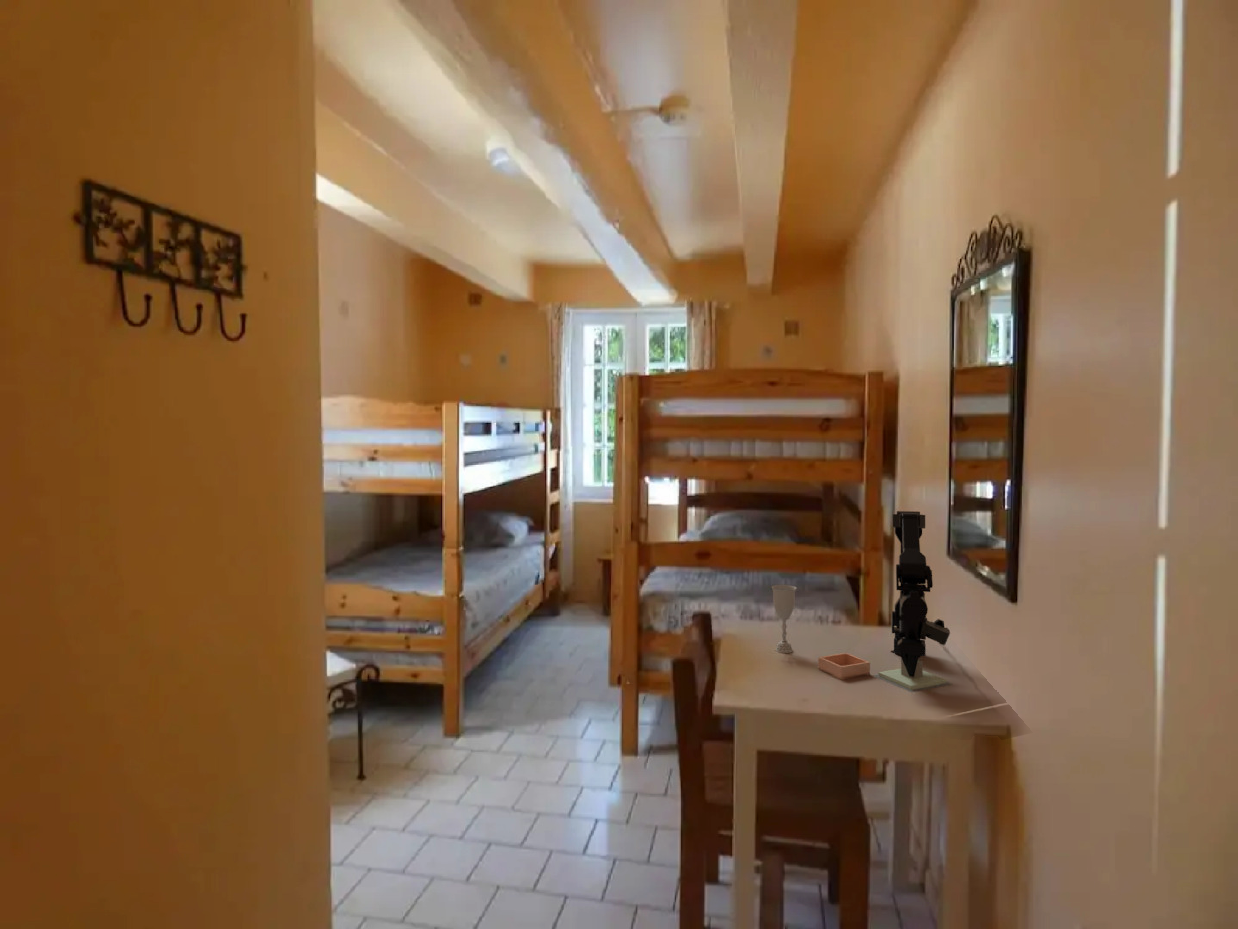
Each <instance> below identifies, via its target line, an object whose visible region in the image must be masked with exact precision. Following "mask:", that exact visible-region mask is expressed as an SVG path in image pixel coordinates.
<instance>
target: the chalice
mask: <svg viewBox="0 0 1238 929" xmlns="http://www.w3.org/2000/svg"><path fill="white" fill-rule="evenodd" d="M771 589H772V595H773V598H772V599H773V603H772V604H773V608H774V610H775V613H776V615H777V616H778V618H779V620H781V621H782V624H781V626H780V627H781V629H782V631H781V633H780V634H781V635H782V639H781V640H780V641H778V643H777V645H776V648H775V649H774V651H775V650H776V651H775V652H777V653H780V654H781V653H783V654H789V653H793V652H794V649H793V646H792V644H791V643H790V641H787V635H788V633H787V628H788V627H787V621H788V620H789V619H791V618H790V617H791V616H792V614H793V612H794V609H795V607H796V606H795V605H796V591H797V587H796V586H794V585H789V584H775V585H772V586H771Z"/></svg>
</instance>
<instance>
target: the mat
mask: <svg viewBox="0 0 1238 929" xmlns="http://www.w3.org/2000/svg"><path fill="white" fill-rule="evenodd" d="M872 677H875V678H877V679H879V680H881V681H884V682H886V683H889V684H891V685H893V686H896V687H897V688H900V689H903V690H905V691H907V692H910V693H913V692H914V693H915V692H919V691H924V690H928V689H934V688H941V687H944V686H950V685H952V683H951V682H948V681H946V683H945V684H940V685H935V686H929V687H924V688H919V689H914V690H910V689H908V688H905V687H903V686H901V685H898V684H896V683H894V682H891V681H889V680H886V679H884V678H882V677H879V674H875V675H872Z"/></svg>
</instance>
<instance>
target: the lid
mask: <svg viewBox="0 0 1238 929" xmlns="http://www.w3.org/2000/svg"><path fill="white" fill-rule="evenodd" d="M923 662H924V661H923V660H921V659H919V658H918V662H917V666H916V670H915V675H914V677H910V676H909V675H908V672H907V670H906V667H905V665H904V663H903V660H902V658H901V659H900V664H901V665H900V668H896V669H890V670H885V671H879V672H878V675H879V677H882V678H884V679H886V680H889V681H891V682H894V683H896V684H898V685H901V686H903V687H905V688H908V689H910V690H914V689H919V688H924V687H929V686H935V685H940V684H945V683H946V682H947V679H946V678H943V677H941V676H938V675H937V674H934V673H931V672H928V671H925V670H924V668H923V667H924V664H923Z"/></svg>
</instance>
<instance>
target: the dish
mask: <svg viewBox="0 0 1238 929" xmlns="http://www.w3.org/2000/svg"><path fill="white" fill-rule="evenodd" d="M817 666H818V667H817V668H818V670H819V671H821V672H824V673H826V674H828V675H830V676H832V677H834V678H837V679H839V680H841V681H842V680H847V679H853V678H858V677H864V676H869V675H871V662H870V661H867V660H865V659H863V658H861V657H857V656H855V655H852V654H850V653H847V652H843V653H836V654H831V655H824V656H819V657H818V665H817Z"/></svg>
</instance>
